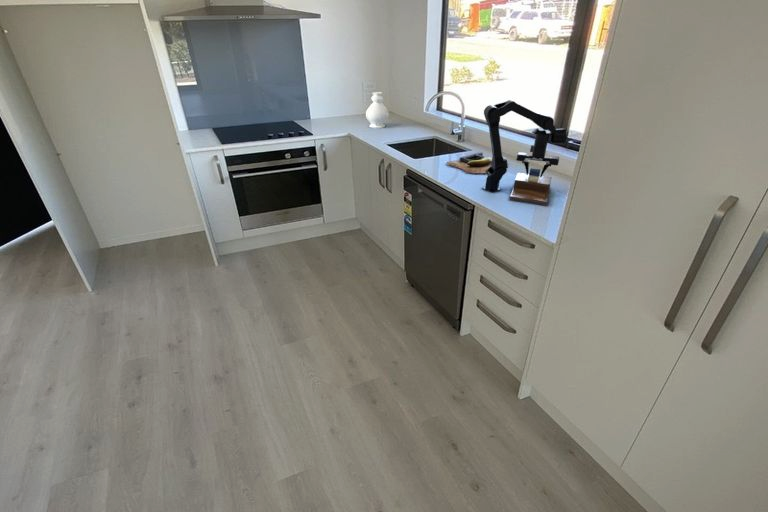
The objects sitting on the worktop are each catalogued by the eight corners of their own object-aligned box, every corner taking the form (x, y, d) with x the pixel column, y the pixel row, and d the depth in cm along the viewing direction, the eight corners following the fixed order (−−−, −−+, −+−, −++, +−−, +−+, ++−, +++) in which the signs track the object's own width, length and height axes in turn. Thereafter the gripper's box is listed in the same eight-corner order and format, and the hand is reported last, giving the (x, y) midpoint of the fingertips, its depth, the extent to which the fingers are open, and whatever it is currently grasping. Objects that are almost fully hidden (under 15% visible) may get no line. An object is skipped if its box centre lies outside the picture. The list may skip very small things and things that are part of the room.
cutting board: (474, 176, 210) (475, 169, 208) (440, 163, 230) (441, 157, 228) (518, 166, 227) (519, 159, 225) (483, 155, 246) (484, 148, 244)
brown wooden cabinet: (545, 205, 177) (548, 193, 174) (509, 200, 182) (511, 187, 179) (548, 188, 196) (551, 177, 193) (515, 184, 201) (517, 172, 198)
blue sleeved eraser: (537, 181, 186) (539, 173, 184) (527, 180, 188) (529, 172, 186) (539, 176, 194) (540, 168, 192) (529, 175, 195) (531, 167, 193)
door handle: (500, 157, 233) (478, 150, 243) (479, 164, 222) (457, 156, 232) (498, 163, 235) (477, 155, 245) (478, 169, 224) (456, 161, 233)
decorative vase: (377, 129, 304) (377, 95, 292) (361, 126, 314) (360, 92, 302) (392, 126, 316) (393, 92, 303) (376, 123, 326) (376, 90, 313)
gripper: (562, 142, 187) (555, 174, 195) (521, 137, 193) (516, 169, 201) (562, 147, 178) (554, 180, 186) (519, 143, 184) (513, 175, 192)
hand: (533, 176), depth 191 cm, fingers open, 6 cm apart
